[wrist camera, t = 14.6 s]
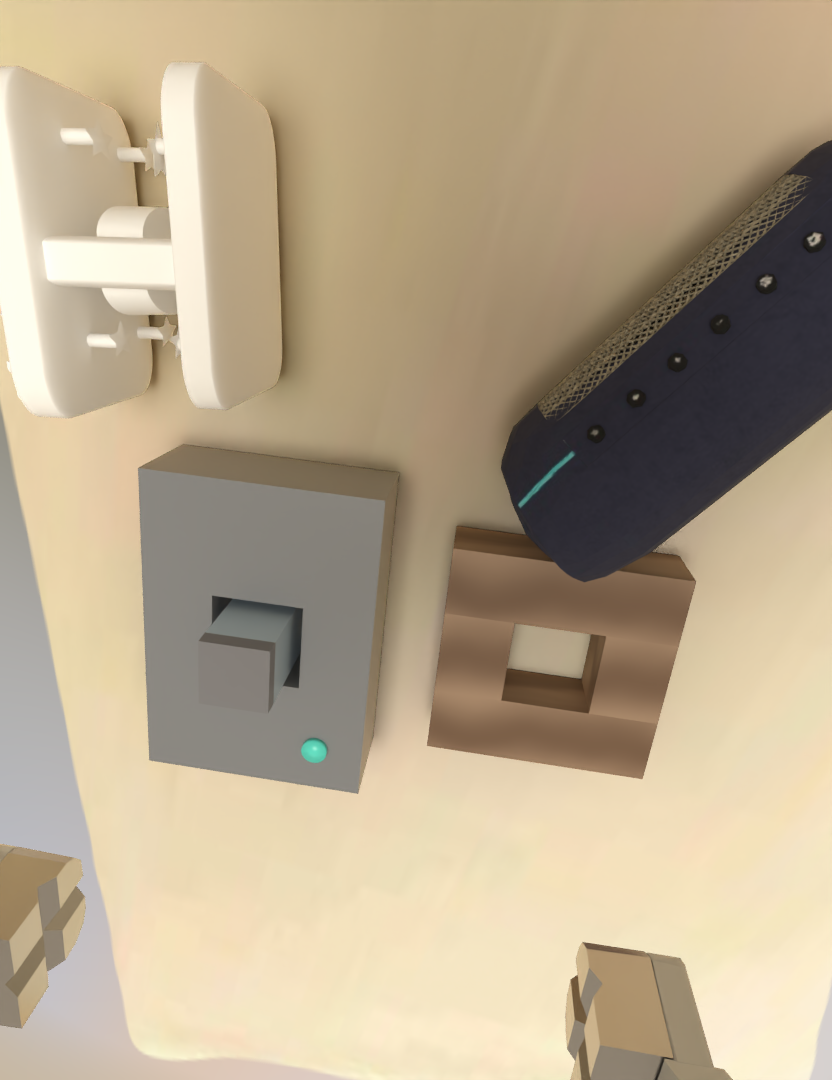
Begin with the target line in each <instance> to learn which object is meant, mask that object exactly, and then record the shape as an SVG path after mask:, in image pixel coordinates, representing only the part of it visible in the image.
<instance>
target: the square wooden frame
mask: <svg viewBox="0 0 832 1080" xmlns="http://www.w3.org/2000/svg"><path fill="white" fill-rule="evenodd" d="M695 584H696V581H695V579H694V578H693V576H692V575H691V573H690V572H689V570H688V569H687V567H686V566H685V564H684V563H683V561H682V559H681V558H680V556H676V555H669V554H661V553H654V552H651V553H649V554H647V555H645V556H644V557H642V558H640V559H638V560H636V561H634V562H632V563H631V564H629V565H627V566H625V567H623V568H621V569H619V570H618V571H616V572H614V573H612V574H610V575H608V576H606V577H603V578H599V579H595V580H591V581H588V582H582V581H580V580H577V579H574V578H573V577H571V576H569V575H567V574H566V573H565V572H564V571H563V570H562V569H560V568H559V567H558V565H557V564H556V563H555V562H554V561H553V560H552V559H551V558H550V557H548V556H547V555H546V554H545V553H544V552H543V551H542V550H541V549H540V548H539V547H538V546H537V545H536V544H535V543H534V542H533V541H532V540H531V539H530V538H529V537H528V536H527V535H520V534H512V533H505V532H498V531H490V530H483V529H475V528H468V527H460V526H457V528H456V535H455V541H454V548H453V555H452V562H451V570H450V577H449V585H448V592H447V600H446V607H445V615H444V622H443V630H442V637H441V645H440V652H439V660H438V667H437V675H436V682H435V690H434V697H433V705H432V712H431V720H430V727H429V735H428V742H427V746H432V747H438V748H445V749H451V750H458V751H464V752H471V753H477V754H484V755H490V756H497V757H503V758H509V759H516V760H522V761H529V762H535V763H542V764H548V765H555V766H561V767H568V768H574V769H581V770H587V771H594V772H600V773H607V774H613V775H620V776H626V777H632V778H639V779H643V775H644V772H645V768H646V764H647V761H648V757H649V753H650V750H651V746H652V742H653V739H654V735H655V731H656V728H657V724H658V720H659V717H660V713H661V709H662V705H663V702H664V698H665V694H666V691H667V687H668V683H669V680H670V676H671V672H672V669H673V665H674V661H675V658H676V654H677V650H678V647H679V643H680V639H681V636H682V632H683V628H684V625H685V621H686V617H687V614H688V610H689V606H690V602H691V599H692V595H693V591H694V588H695ZM515 623H517V624H524V625H531V626H538V627H545V628H552V629H559V630H566V631H573V632H580V633H587V634H591V639H590V643H589V648H588V653H587V657H586V662H585V666H584V671H583V675H582V680H581V679H574V678H567V677H560V676H553V675H547V674H540V673H533V672H526V671H519V670H513V669H507V664H508V659H509V653H510V647H511V642H512V636H513V630H514V624H515Z"/></svg>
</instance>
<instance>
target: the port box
mask: <svg viewBox="0 0 832 1080" xmlns="http://www.w3.org/2000/svg"><path fill="white" fill-rule="evenodd" d="M138 476H139V502H140V528H141V554H142V580H143V606H144V632H145V659H146V685H147V711H148V737H149V760H151V761H157V762H163V763H170V764H176V765H182V766H188V767H195V768H201V769H207V770H213V771H220V772H226V773H232V774H238V775H245V776H251V777H257V778H263V779H270V780H276V781H282V782H289V783H295V784H301V785H307V786H314V787H320V788H326V789H332V790H339V791H345V792H351V793H357V794H358V792H359V788H360V784H361V781H362V777H363V773H364V769H365V766H366V762H367V758H368V754H369V751H370V747H371V743H372V739H373V733H374V723H375V713H376V703H377V693H378V683H379V673H380V663H381V653H382V643H383V633H384V623H385V613H386V602H387V592H388V582H389V572H390V562H391V552H392V542H393V532H394V522H395V512H396V502H397V492H398V482H399V473H398V472H391V471H383V470H375V469H368V468H360V467H352V466H345V465H337V464H329V463H322V462H314V461H306V460H299V459H291V458H283V457H276V456H268V455H260V454H253V453H245V452H237V451H230V450H222V449H214V448H207V447H199V446H191V445H184V444H183V445H181V446H179V447H177V448H175V449H173V450H171V451H169V452H167V453H166V454H164V455H162V456H160V457H158V458H156V459H154V460H152V461H150V462H149V463H147V464H145V465H143V466H141V467H139V468H138ZM232 599H240V600H247V601H254V602H261V603H268V604H275V605H282V606H289V607H296V608H303V619H302V638H301V652H300V654H299V656H298V658H297V659H296V661H295V663H294V665H293V667H292V669H291V671H290V673H289V675H288V677H287V679H286V681H285V683H284V684H283V686H282V688H281V690H280V692H279V694H278V696H277V698H276V700H275V702H274V704H273V706H272V707H271V709H270V711H269V713H268V714H265V713H258V712H252V711H245V710H238V709H232V708H225V707H219V706H212V705H206V704H199V682H198V641H199V639H200V638H201V637H202V636H203V635H204V633H205V632H206V631H207V630H208V628H209V627H210V626H211V625H212V624H213V622H214V621H215V620H216V619H217V617H218V616H219V615H220V614H221V613H222V611H223V610H224V609H225V608H226V606H227V605H228V604H229V603H230V602H231V600H232Z"/></svg>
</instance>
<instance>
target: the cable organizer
mask: <svg viewBox="0 0 832 1080" xmlns="http://www.w3.org/2000/svg"><path fill="white" fill-rule="evenodd" d="M161 121H162V133H163V138H162V137H161V133H160V129H159V125H158V121H157V128H156V135H155V139H147V141H148V144H147V148H141V147H139V148H135V147H131V144H130V140H129V137H128V133H127V130H126V128H125V125H124V123H123V121H122V119H121V117H120V115H119V114H118V112H117V111H116V110H115V109H114V108H112V107H110V106H108V105H106V104H104V103H101V102H99V101H97V100H95V99H93V98H90V97H88V96H86V95H84V94H81V93H79V92H77V91H75V90H72V89H70V88H68V87H66V86H63V85H61V84H59V83H57V82H54V81H52V80H50V79H48V78H46V77H43V76H41V75H39V74H37V73H34V72H32V71H30V70H28V69H25V68H23V67H19V66H0V307H1V314H0V315H2V319H3V325H4V331H5V337H6V343H7V349H8V355H9V361H7V367H8V370H9V372H11V373H12V378H13V381H14V384H15V388H16V390H17V395H18V397H19V398H20V399H21V401H22V403H23V404H24V406H25V407H26V408H27V409H28V410H29V411H30V412H31V413H32V414H34V415H36V416H39V417H54V418H73V417H76V416H79V415H82V414H85V413H88V412H91V411H94V410H97V409H100V408H103V407H106V406H109V405H113V404H116V403H119V402H122V401H125V400H128V399H131V398H134V397H137V396H140V395H142V394H144V393H145V392H146V390H147V388H148V386H149V383H150V380H151V374H152V346H151V339H160V340H163V346H164V345H165V344H166V343H167V342H168V341H170V342H171V343H173V344H174V345H175V346H176V358H177V357H178V356H179V354H180V353H181V362H182V371H183V377H184V382H185V386H186V389H187V392H188V395H189V397H190V399H191V401H192V402H193V404H194V405H195V406H196V407H197V408H200V409H218V410H228V409H230V408H232V407H234V406H236V405H238V404H240V403H242V402H244V401H246V400H248V399H250V398H252V397H254V396H256V395H258V394H260V393H262V392H264V391H266V390H268V389H271V388H273V387H274V386H275V385H276V384H277V382H278V379H279V375H280V371H281V364H282V323H281V293H280V263H279V233H278V203H277V173H276V151H275V142H274V135H273V130H272V125H271V121H270V118H269V115H268V112H267V110H266V108H265V107H264V106H263V105H262V104H261V103H259V102H258V101H257V100H255V99H254V98H252V97H251V96H250V95H248V94H247V93H246V92H244V91H243V90H242V89H240V88H239V87H238V86H236V85H235V84H234V83H232V82H231V81H230V80H228V79H227V78H226V77H224V76H223V75H222V74H220V73H219V72H218V71H216V70H215V69H214V68H212V67H211V66H210V65H208V64H207V63H205V62H171V63H170V64H169V65H168V66H167V68H166V70H165V73H164V76H163V81H162V87H161ZM134 162H145V172H146V171H147V170H149V169H150V168H152V169H153V170H154V175H155V177H156V176H157V175H159V174H158V173H159V172H160V171H161V170H162V171H163V173H164V174H165V176H166V181H167V193H168V205H169V208H167V207H139V206H138V201H137V191H136V181H135V170H134ZM174 314H178V332H177V335H175V336H173V332H174V330H175V328H176V326H177V325H170V324H169V321H168V318H167V316H166V318H165V323H164V326H162V327H150V325H149V315H174Z"/></svg>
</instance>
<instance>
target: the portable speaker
mask: <svg viewBox="0 0 832 1080" xmlns="http://www.w3.org/2000/svg"><path fill="white" fill-rule="evenodd" d="M742 229H743V231H742ZM734 237H735V238H734ZM731 242H733V243H732V244H731ZM723 250H724V251H723ZM720 256H721V257H720ZM708 257H709V258H708ZM718 261H719V263H717V262H718ZM700 264H701V266H700ZM710 268H711V269H710ZM698 269H699V270H698ZM692 272H693V273H692ZM708 274H709V275H708ZM690 277H691V278H690ZM689 278H690V279H689ZM685 279H686V280H685ZM701 281H702V282H701ZM682 284H683V286H681V285H682ZM699 284H701V285H699ZM695 285H696V286H695ZM698 285H699V286H698ZM693 286H695V287H693ZM680 289H681V290H680ZM675 291H676V292H675ZM691 291H694V292H693V293H691ZM687 292H688V294H686V293H687ZM677 295H678V296H677ZM672 296H674V297H673V298H672ZM684 297H687V298H686V300H683V299H684ZM690 297H691V298H690ZM679 298H680V301H679ZM666 299H667V300H666ZM675 300H676V302H675ZM670 302H671V303H670ZM665 303H666V304H665ZM682 303H683V304H684V305H682ZM664 304H665V305H664ZM677 304H679V306H678V307H677V308H675V307H676V305H677ZM671 306H672V307H671ZM667 307H668V309H667ZM656 311H657V312H656ZM670 311H671V312H670ZM675 311H676V312H675ZM666 312H667V314H666ZM669 312H670V314H669ZM674 312H675V313H674ZM660 314H661V316H659V315H660ZM667 318H668V319H667ZM658 320H659V321H658ZM661 320H662V321H661ZM656 325H658V326H656ZM649 329H652V330H650V331H649ZM646 330H647V331H646ZM628 331H629V332H628ZM639 331H641V332H640V333H639ZM644 331H646V332H644ZM644 335H645V337H643V338H641V337H642V336H644ZM626 336H627V337H626ZM621 337H622V339H621ZM638 337H639V339H636V338H638ZM632 339H633V340H632ZM616 340H617V341H616ZM624 340H625V342H624ZM619 342H620V344H618V343H619ZM635 342H636V343H635ZM631 343H632V344H631ZM614 344H615V345H614ZM627 344H628V345H627ZM630 344H631V345H630ZM617 347H618V348H617ZM611 349H613V350H612V351H611ZM623 350H624V351H623ZM607 351H608V352H607ZM619 352H620V353H619ZM614 353H615V354H614ZM609 354H610V355H609ZM604 356H606V357H604ZM612 357H613V358H612ZM608 359H609V360H608ZM602 361H603V362H602ZM598 362H599V363H598ZM595 367H596V368H595ZM831 410H832V140H831V141H828V142H826V143H824V144H822V145H821V146H819V147H817V148H815V149H813V150H812V151H811V152H809V153H808V154H807V155H806V156H805V157H804V158H802V159H801V160H800V161H799V162H798V163H797V164H796V165H794V166H793V167H792V168H791V169H790V170H789V171H787V172H786V173H785V174H784V175H783V176H782V177H781V178H779V179H778V180H777V181H776V182H775V183H774V184H773V185H772V186H771V187H770V188H769V189H768V190H767V191H766V192H765V193H763V194H762V195H761V196H760V197H759V198H758V199H757V200H756V201H755V202H754V203H752V204H751V206H750V207H748V208H747V209H746V210H745V211H744V212H743V213H742V214H741V215H740V216H739V217H737V218H736V219H735V220H734V221H733V222H732V223H731V224H730V225H729V226H728V227H727V228H726V229H725V230H724V231H722V232H721V233H720V234H719V235H718V236H717V237H716V238H715V239H714V240H713V241H711V243H710V244H709V245H707V246H706V247H705V248H704V249H703V250H702V251H701V252H700V253H699V254H698V255H696V256H695V257H694V258H693V259H692V260H691V261H690V262H689V263H688V264H687V265H686V266H685V267H684V268H683V269H681V270H680V271H679V272H678V273H677V274H676V275H675V276H674V277H673V278H672V279H671V280H670V281H669V282H668V283H666V284H665V285H664V286H663V287H662V288H661V289H660V290H659V291H658V292H657V293H656V294H655V295H654V296H653V297H651V298H650V299H649V300H648V301H647V302H646V303H645V304H644V305H643V306H642V307H641V308H640V309H639V310H637V311H636V312H635V313H634V314H633V315H632V316H631V317H630V318H629V319H627V321H626V322H625V323H624V324H622V325H621V326H620V327H619V328H618V329H617V330H616V331H615V332H614V333H612V335H611V336H610V337H608V338H607V339H606V340H605V341H604V342H603V343H602V344H601V345H600V346H598V348H597V349H596V350H594V351H593V352H592V353H591V354H590V355H589V356H588V357H587V358H586V359H584V361H583V362H582V363H580V364H579V365H578V366H577V367H576V368H575V369H574V370H573V371H572V372H570V374H569V375H568V376H566V377H565V378H564V379H563V380H562V381H561V382H560V383H559V384H558V385H557V386H556V387H555V388H554V389H552V390H551V391H550V392H549V393H548V394H547V395H546V396H545V397H544V398H543V399H542V400H541V401H539V402H538V403H537V404H536V405H535V406H534V407H533V408H532V409H531V410H530V411H529V412H528V413H527V414H526V415H525V416H524V417H523V418H522V419H521V420H520V421H519V422H518V423H517V424H516V425H515V426H514V427H513V430H512V432H511V434H510V437H509V440H508V443H507V446H506V449H505V452H504V456H503V459H502V465H501V470H502V473H503V475H504V478H505V481H506V484H507V487H508V490H509V493H510V496H511V501H512V504H513V506H514V509H515V511H516V513H517V515H518V517H519V520H520V522H521V524H522V526H523V528H524V530H525V533H526V535H527V536H528V537H529V538H530V539H531V540H532V541H533V542H534V543H535V544H536V545H537V546H538V547H539V548H540V549H541V550H542V551H543V552H544V553H545V554H546V555H547V556H548V557H550V558H551V559H552V560H553V561H554V562H555V563H556V564H557V565H558V567H559V568H560V569H562V570H563V571H564V572H565V573H566V574H567V575H569V576H571V577H573V578H574V579H577V580H580V581H582V582H588V581H591V580H595V579H599V578H603V577H606V576H608V575H610V574H612V573H614V572H616V571H618V570H619V569H621V568H623V567H625V566H627V565H629V564H631V563H632V562H634V561H636V560H638V559H640V558H642V557H644V556H645V555H647V554H649V553H651V552H652V551H653V550H654V549H656V548H657V547H658V546H659V545H661V544H662V543H663V542H665V541H666V540H667V539H668V538H670V537H671V536H672V535H673V534H675V533H676V532H677V531H679V530H680V529H681V528H682V527H684V526H685V525H686V524H687V523H689V522H690V521H691V520H693V519H694V518H695V517H696V516H698V515H699V514H700V513H701V512H703V511H704V510H705V509H707V508H708V507H709V506H710V505H712V504H713V503H714V502H715V501H717V500H718V499H719V498H721V497H722V496H723V495H724V494H726V493H727V492H728V491H729V490H731V489H732V488H733V487H735V486H736V485H737V484H738V483H740V482H741V481H742V480H743V479H745V478H746V477H747V476H749V475H750V474H751V473H752V472H754V471H755V470H756V469H757V468H759V467H760V466H761V465H763V464H764V463H765V462H766V461H768V460H769V459H770V458H771V457H773V456H774V455H775V454H777V453H778V452H779V451H780V450H782V449H783V448H784V447H785V446H787V445H788V444H789V443H791V442H792V441H793V440H794V439H796V438H797V437H798V436H799V435H801V434H802V433H803V432H805V431H806V430H807V429H808V428H810V427H811V426H812V425H813V424H815V423H816V422H817V421H819V420H820V419H821V418H822V417H824V416H825V415H826V414H827V413H829V412H830V411H831Z"/></svg>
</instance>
